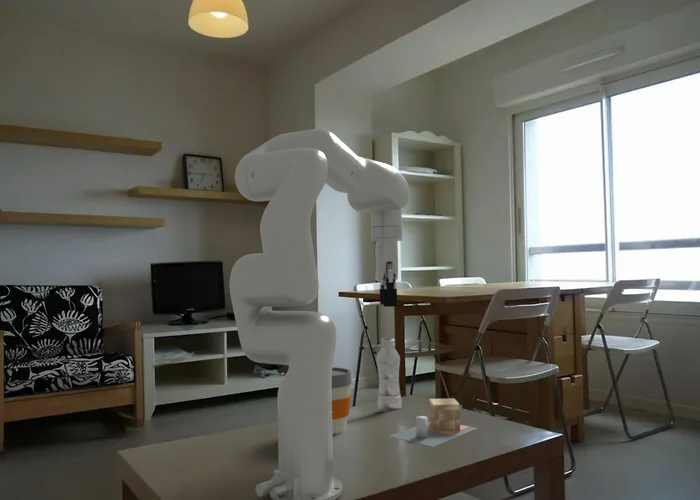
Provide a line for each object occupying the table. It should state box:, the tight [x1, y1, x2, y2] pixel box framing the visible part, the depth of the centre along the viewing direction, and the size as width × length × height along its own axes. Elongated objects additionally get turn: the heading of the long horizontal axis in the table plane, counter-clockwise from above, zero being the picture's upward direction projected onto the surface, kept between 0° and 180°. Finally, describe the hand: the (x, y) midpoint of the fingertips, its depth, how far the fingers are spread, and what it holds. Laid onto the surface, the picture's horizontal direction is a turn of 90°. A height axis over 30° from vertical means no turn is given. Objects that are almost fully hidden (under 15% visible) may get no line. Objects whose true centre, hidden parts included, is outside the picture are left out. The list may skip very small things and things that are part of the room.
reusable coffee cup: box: [332, 366, 353, 435], centre depth 129 cm, size 13×13×15 cm
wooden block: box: [428, 397, 461, 431], centre depth 128 cm, size 6×6×6 cm
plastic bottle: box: [376, 337, 403, 413], centre depth 149 cm, size 6×7×20 cm
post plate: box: [388, 415, 478, 448], centre depth 125 cm, size 18×12×6 cm, turn 136°
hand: (388, 305), depth 132 cm, fingers open, 9 cm apart
